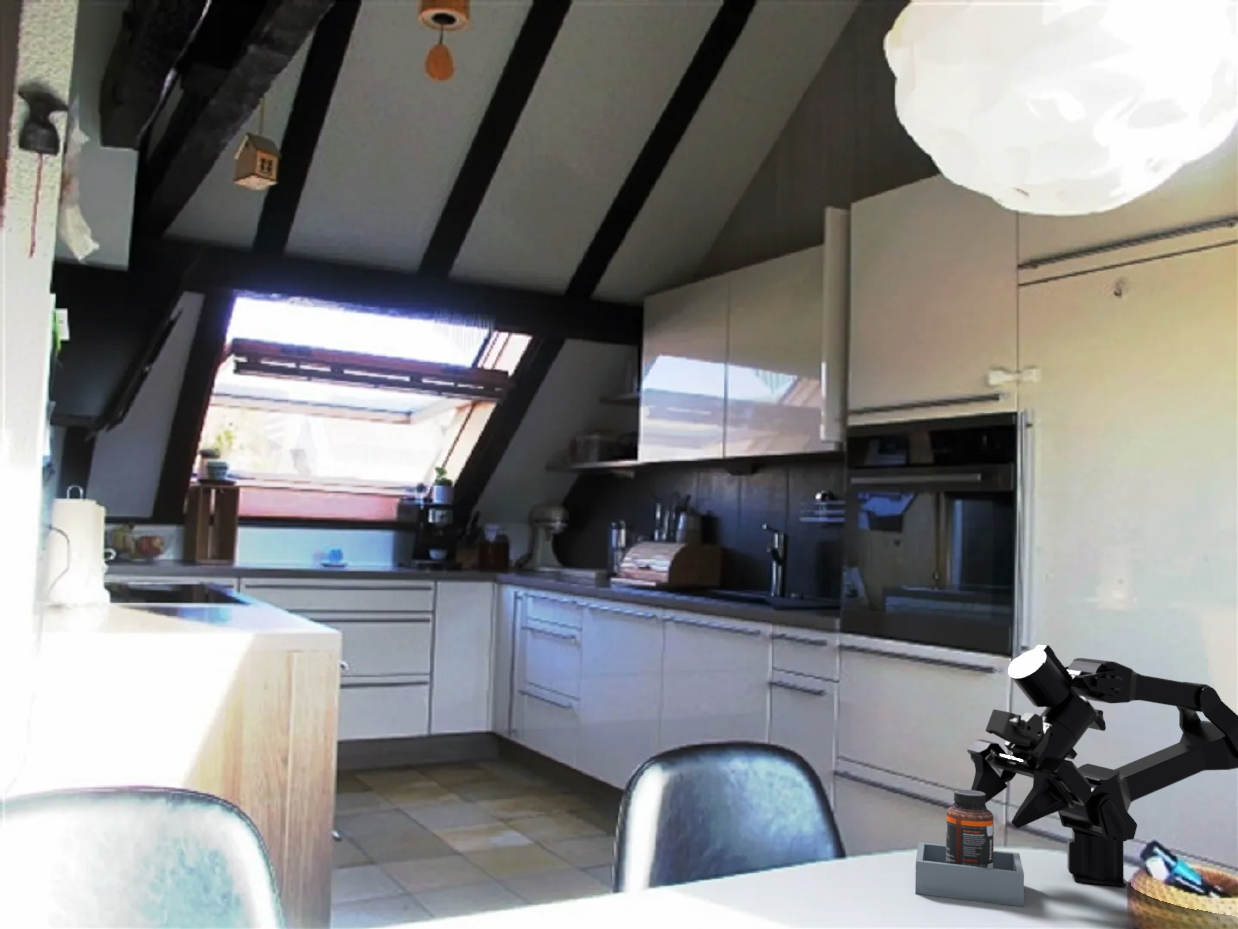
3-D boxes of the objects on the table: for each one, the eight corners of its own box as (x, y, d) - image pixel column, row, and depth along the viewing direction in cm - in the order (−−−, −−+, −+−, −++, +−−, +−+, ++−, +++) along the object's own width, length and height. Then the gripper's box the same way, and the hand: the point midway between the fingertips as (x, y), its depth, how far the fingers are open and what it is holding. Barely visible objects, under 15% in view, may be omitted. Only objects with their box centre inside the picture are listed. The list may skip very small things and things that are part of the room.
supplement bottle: (1003, 886, 140) (1003, 796, 142) (964, 888, 139) (964, 797, 140) (974, 873, 146) (975, 787, 147) (936, 875, 144) (937, 788, 145)
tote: (1019, 884, 145) (1019, 853, 146) (1023, 907, 135) (1023, 873, 135) (918, 872, 149) (918, 842, 150) (915, 893, 139) (915, 861, 139)
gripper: (978, 682, 156) (912, 762, 152) (1072, 697, 139) (1002, 789, 134) (1023, 736, 158) (960, 818, 154) (1122, 758, 141) (1054, 851, 136)
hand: (990, 817), depth 144 cm, fingers open, 9 cm apart
